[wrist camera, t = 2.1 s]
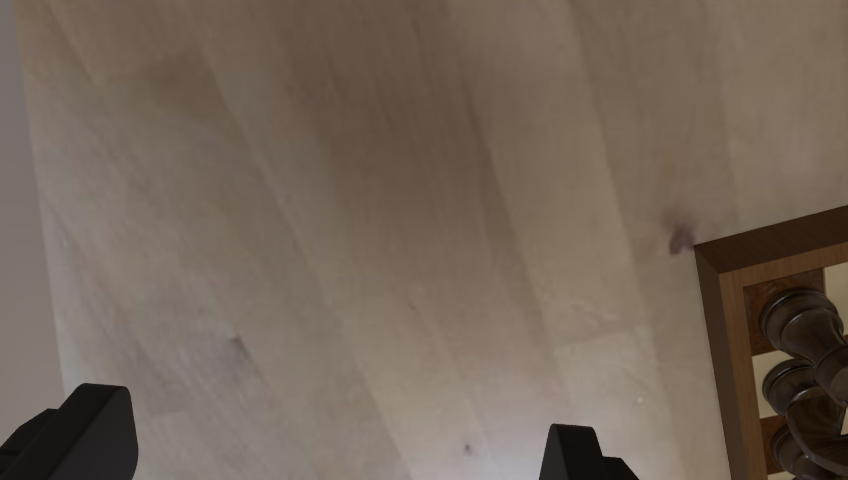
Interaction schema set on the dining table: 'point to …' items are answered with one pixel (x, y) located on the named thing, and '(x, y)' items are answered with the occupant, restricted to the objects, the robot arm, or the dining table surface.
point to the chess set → (781, 346)
